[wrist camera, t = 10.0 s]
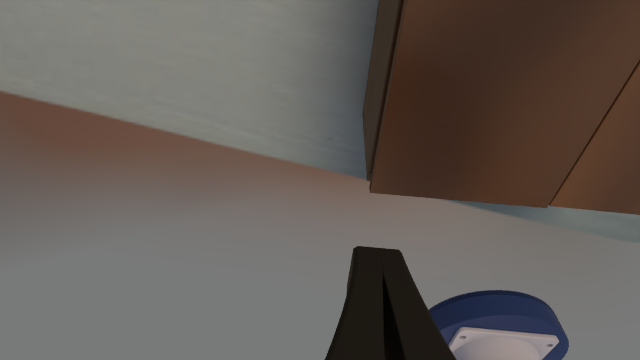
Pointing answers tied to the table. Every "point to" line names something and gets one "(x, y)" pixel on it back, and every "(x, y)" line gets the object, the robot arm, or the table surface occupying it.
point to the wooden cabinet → (491, 94)
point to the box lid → (609, 159)
